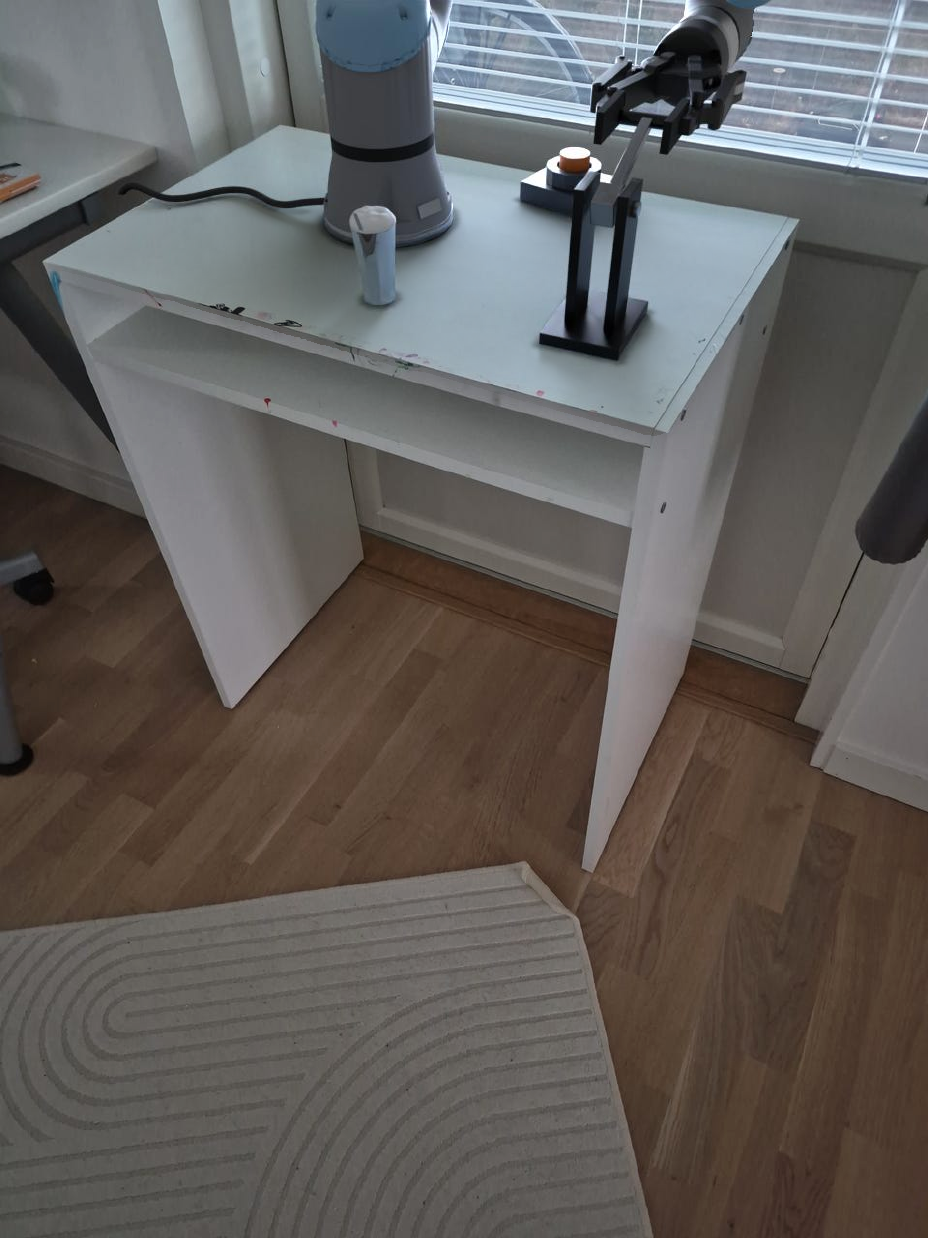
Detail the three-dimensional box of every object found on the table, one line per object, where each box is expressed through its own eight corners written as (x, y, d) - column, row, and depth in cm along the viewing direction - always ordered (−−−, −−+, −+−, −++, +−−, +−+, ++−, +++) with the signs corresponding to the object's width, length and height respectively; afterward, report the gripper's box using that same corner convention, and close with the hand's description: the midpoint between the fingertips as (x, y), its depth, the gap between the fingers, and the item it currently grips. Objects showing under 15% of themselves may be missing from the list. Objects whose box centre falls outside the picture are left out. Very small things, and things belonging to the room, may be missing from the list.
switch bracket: (572, 297, 92) (583, 156, 82) (647, 311, 90) (668, 169, 80) (538, 344, 86) (546, 198, 76) (617, 361, 84) (636, 213, 73)
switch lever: (621, 124, 86) (622, 100, 83) (676, 132, 84) (679, 107, 82) (572, 221, 80) (571, 198, 78) (630, 231, 79) (632, 208, 77)
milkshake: (345, 307, 91) (333, 208, 84) (371, 284, 95) (362, 187, 87) (384, 316, 90) (375, 217, 83) (409, 292, 93) (402, 195, 86)
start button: (553, 169, 106) (553, 153, 104) (570, 159, 107) (571, 144, 106) (578, 176, 104) (579, 160, 103) (594, 166, 106) (596, 151, 105)
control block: (519, 199, 108) (520, 165, 106) (557, 178, 113) (559, 145, 110) (587, 220, 104) (590, 185, 101) (624, 198, 108) (628, 163, 105)
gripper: (773, 109, 94) (725, 192, 80) (606, 87, 99) (533, 161, 85) (792, 26, 88) (744, 100, 74) (614, 8, 94) (537, 73, 79)
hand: (632, 132), depth 80 cm, fingers closed on switch lever, 5 cm apart
